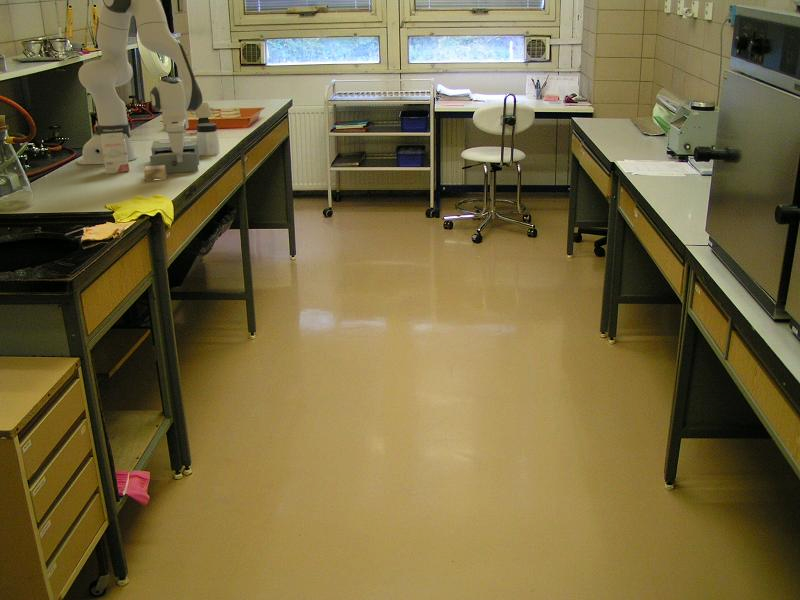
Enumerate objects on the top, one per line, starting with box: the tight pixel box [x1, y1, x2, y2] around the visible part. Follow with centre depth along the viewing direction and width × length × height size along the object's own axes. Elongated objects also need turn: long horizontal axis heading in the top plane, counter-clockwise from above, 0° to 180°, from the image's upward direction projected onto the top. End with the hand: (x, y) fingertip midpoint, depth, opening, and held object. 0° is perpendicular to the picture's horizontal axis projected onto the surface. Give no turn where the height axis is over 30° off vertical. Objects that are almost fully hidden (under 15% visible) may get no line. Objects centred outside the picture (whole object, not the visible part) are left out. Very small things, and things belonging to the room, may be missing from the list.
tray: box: [149, 151, 199, 174], centre depth 321 cm, size 17×17×7 cm
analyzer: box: [150, 138, 200, 166], centre depth 334 cm, size 17×16×8 cm
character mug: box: [190, 102, 215, 124], centre depth 404 cm, size 11×7×13 cm, turn 92°
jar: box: [195, 122, 221, 157], centre depth 349 cm, size 9×8×12 cm
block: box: [143, 165, 167, 181], centre depth 307 cm, size 7×7×4 cm
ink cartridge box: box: [100, 132, 130, 174], centre depth 319 cm, size 9×5×15 cm, turn 105°
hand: (180, 161), depth 313 cm, fingers closed
